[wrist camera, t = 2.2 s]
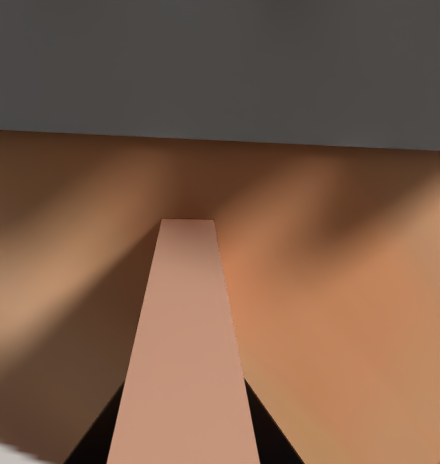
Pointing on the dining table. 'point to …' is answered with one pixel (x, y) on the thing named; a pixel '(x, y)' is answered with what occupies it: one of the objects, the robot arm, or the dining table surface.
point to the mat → (225, 70)
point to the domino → (185, 361)
